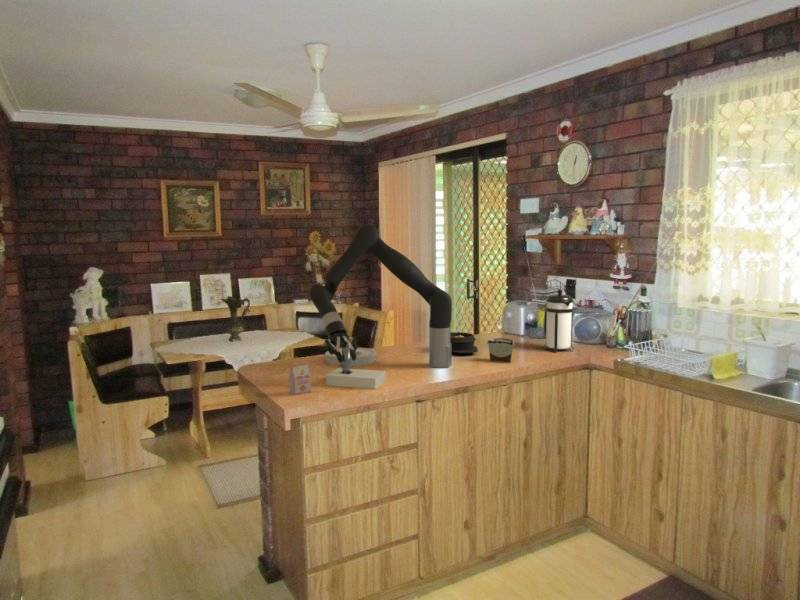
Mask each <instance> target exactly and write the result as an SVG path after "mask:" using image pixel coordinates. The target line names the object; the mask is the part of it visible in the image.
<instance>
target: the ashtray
mask: <svg viewBox="0 0 800 600" xmlns="http://www.w3.org/2000/svg"><path fill="white" fill-rule="evenodd" d="M339 350H340V351H339V352H341V355H342V347H341V348H339ZM355 353H356V356H357V357H356V360H355V361H353V360H352V358H351V356H350V367H359V366H366V365H370V364H374V362H375V361H376V360H377V359H376V358H377V353H376V351H375V350H374V349H372V348H371V349H370V348H368V347H367V348H366V347H358V348H357V349H356V351H355ZM324 354H325V355H324V356H325V357H324V359H325V363H326V364H328V365H331V366H336V367H337V366H340V367H341V366H342V363H340V361H338V359H337V357H336V355H335V354H332V355H331V354H330V353H329V351H328V350H327V351H325V353H324Z"/></svg>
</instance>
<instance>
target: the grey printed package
mask: <svg viewBox="0 0 800 600" xmlns="http://www.w3.org/2000/svg"><path fill="white" fill-rule="evenodd" d="M288 380H289V381H288V382H289V383H288V386H289V387H288V390H289V394H290V395H292V396H298V395H303V394H308V393H311V392H312V389H311V386H312V385H311V374H310V369H309V365H308V364H304V365H298V366H291V367H290V372H289V375H288Z"/></svg>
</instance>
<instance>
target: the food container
mask: <svg viewBox="0 0 800 600" xmlns="http://www.w3.org/2000/svg"><path fill="white" fill-rule="evenodd" d="M486 344H487V345H488V353H489V362H493V361H494V362H496V363H504V362H505V363H506V364H511V362H512V357H513V347H514V346H515V341H514V339H512V338H505V337H493V338H492V337H491V338H488V339H487V343H486Z"/></svg>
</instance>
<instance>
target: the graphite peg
mask: <svg viewBox="0 0 800 600" xmlns="http://www.w3.org/2000/svg"><path fill="white" fill-rule="evenodd" d="M341 348H342V357H343V362H342V365H341V368H342V374H350V369H351V366H350V347H348V346H344V347H341Z"/></svg>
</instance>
